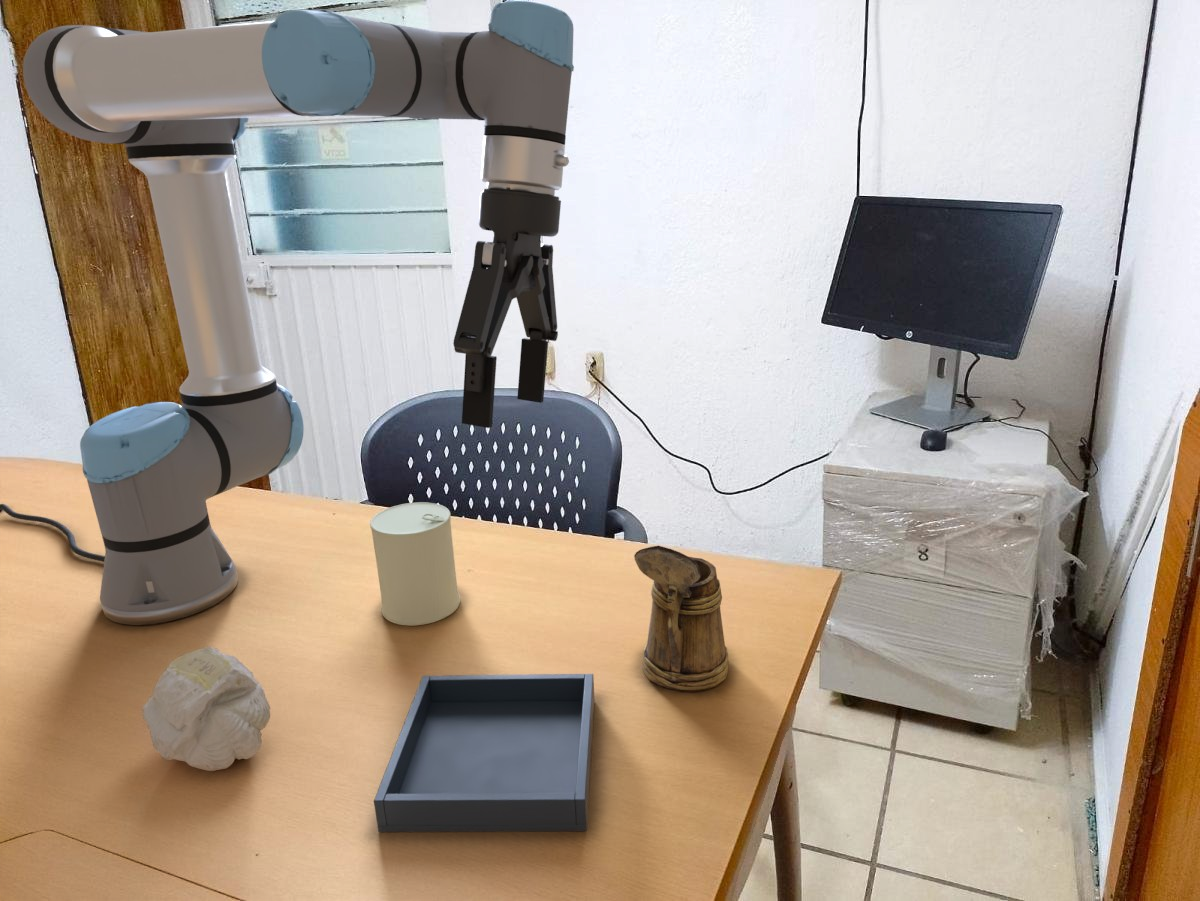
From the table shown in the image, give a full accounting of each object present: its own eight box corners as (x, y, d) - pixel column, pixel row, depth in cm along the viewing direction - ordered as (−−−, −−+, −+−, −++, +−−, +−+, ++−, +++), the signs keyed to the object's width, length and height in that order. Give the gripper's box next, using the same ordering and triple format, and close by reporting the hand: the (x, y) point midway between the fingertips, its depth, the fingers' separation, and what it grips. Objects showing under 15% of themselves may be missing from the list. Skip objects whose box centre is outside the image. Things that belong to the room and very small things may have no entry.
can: (443, 629, 94) (432, 533, 90) (368, 622, 96) (354, 528, 92) (471, 589, 102) (462, 500, 98) (401, 584, 104) (390, 496, 100)
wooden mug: (614, 710, 79) (608, 540, 73) (657, 636, 91) (655, 484, 85) (705, 729, 76) (707, 553, 70) (737, 650, 88) (741, 494, 82)
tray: (378, 832, 66) (373, 801, 65) (425, 702, 81) (422, 675, 80) (586, 831, 65) (585, 799, 64) (594, 700, 81) (593, 673, 80)
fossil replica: (234, 797, 70) (301, 730, 79) (229, 712, 68) (298, 653, 77) (113, 769, 73) (192, 707, 82) (103, 685, 70) (186, 631, 80)
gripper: (506, 182, 64) (489, 444, 70) (598, 201, 88) (579, 397, 93) (420, 174, 66) (409, 430, 72) (532, 195, 90) (517, 387, 95)
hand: (505, 412), depth 83 cm, fingers open, 13 cm apart
